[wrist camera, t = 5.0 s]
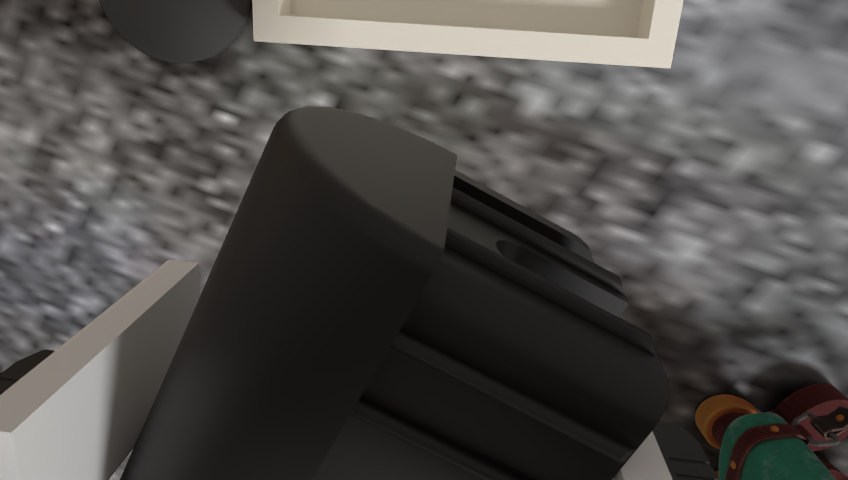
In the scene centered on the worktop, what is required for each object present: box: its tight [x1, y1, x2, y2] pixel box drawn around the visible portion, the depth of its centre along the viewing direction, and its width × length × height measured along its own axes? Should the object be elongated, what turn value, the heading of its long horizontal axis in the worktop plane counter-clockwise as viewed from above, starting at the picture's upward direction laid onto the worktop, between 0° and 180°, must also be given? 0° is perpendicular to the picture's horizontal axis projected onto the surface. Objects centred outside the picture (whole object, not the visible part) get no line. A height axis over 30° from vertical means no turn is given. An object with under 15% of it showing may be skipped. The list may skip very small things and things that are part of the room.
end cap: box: [120, 107, 669, 480], centre depth 13 cm, size 10×7×7 cm
